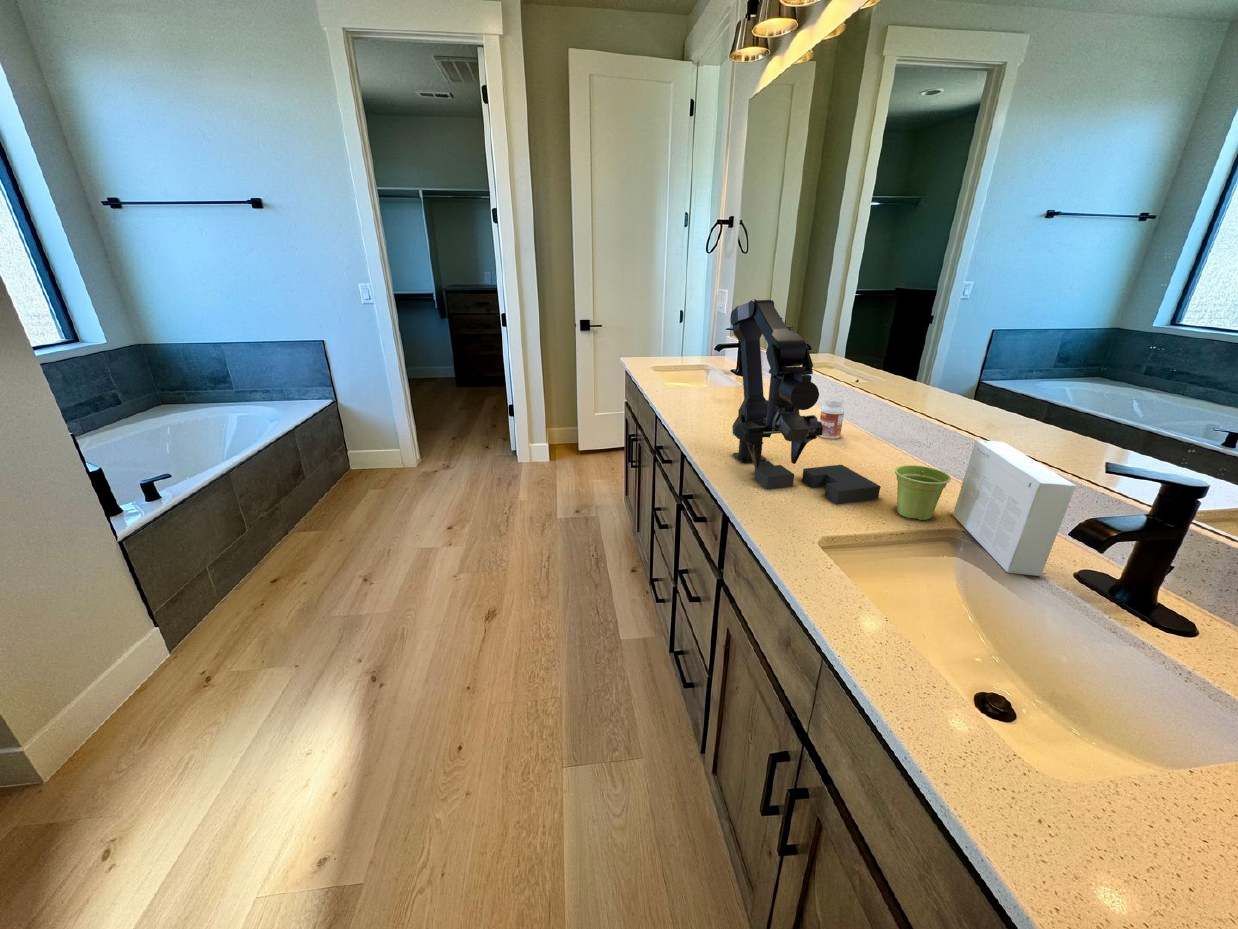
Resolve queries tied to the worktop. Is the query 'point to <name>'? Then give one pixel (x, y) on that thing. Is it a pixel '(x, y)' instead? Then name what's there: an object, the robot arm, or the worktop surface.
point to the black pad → (773, 475)
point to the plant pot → (919, 490)
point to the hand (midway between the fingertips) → (775, 465)
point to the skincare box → (1012, 506)
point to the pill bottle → (832, 417)
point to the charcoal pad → (841, 483)
